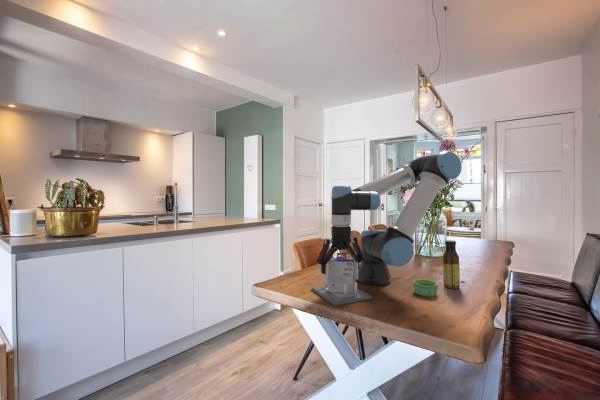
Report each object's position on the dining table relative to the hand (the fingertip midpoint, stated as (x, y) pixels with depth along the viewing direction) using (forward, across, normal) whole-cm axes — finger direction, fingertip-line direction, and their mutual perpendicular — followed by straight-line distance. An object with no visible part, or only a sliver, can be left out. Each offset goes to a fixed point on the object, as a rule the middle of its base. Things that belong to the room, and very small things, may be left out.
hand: (340, 280), depth 111 cm
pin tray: (+6, 0, 0) cm, 6 cm away
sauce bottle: (+6, +48, -11) cm, 49 cm away
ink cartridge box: (+4, 0, 0) cm, 5 cm away
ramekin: (+6, +32, -12) cm, 35 cm away
